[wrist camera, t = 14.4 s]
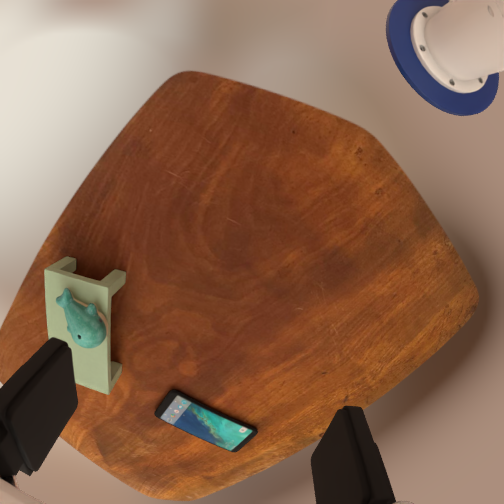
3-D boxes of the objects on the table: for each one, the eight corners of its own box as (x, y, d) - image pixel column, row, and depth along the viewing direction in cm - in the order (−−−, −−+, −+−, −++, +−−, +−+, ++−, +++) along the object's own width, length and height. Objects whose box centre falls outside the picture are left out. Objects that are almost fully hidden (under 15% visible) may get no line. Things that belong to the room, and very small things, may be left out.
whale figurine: (93, 347, 34) (79, 363, 30) (54, 301, 32) (37, 314, 29) (121, 324, 33) (108, 341, 29) (79, 274, 32) (62, 287, 28)
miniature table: (66, 255, 37) (44, 268, 31) (126, 271, 37) (108, 287, 32) (70, 354, 41) (53, 373, 36) (122, 372, 41) (108, 395, 36)
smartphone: (171, 389, 41) (259, 432, 43) (172, 386, 42) (259, 428, 44) (152, 415, 42) (235, 454, 45) (153, 412, 43) (235, 450, 45)
